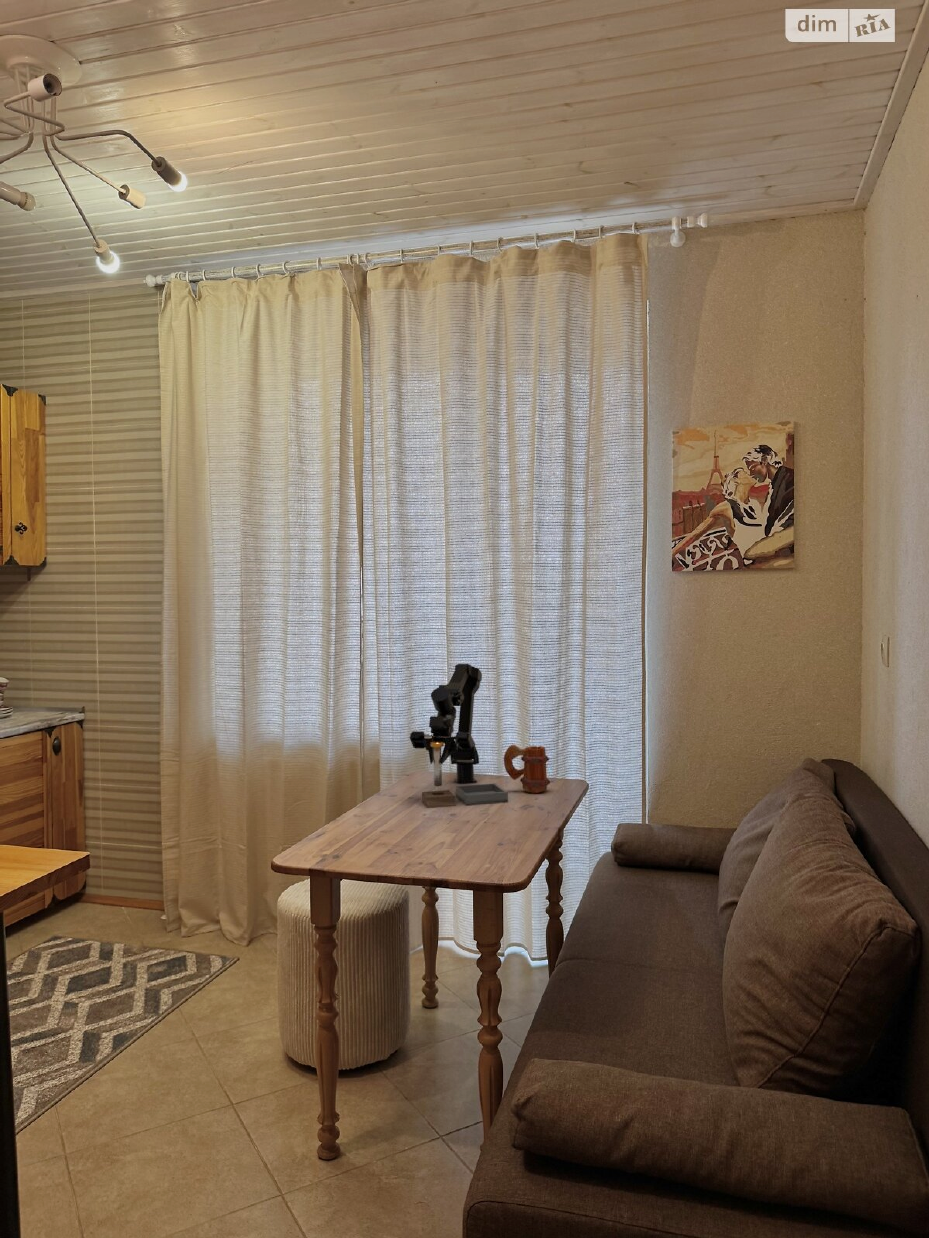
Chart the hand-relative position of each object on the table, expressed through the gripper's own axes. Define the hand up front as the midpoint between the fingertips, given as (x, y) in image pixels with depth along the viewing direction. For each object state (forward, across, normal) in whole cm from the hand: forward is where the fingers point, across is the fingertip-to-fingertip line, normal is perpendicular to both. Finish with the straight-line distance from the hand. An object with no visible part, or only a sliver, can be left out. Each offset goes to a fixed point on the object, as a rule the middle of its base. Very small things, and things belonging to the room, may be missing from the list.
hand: (436, 763), depth 275 cm
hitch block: (+8, 0, +10) cm, 13 cm away
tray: (+2, +11, +16) cm, 20 cm away
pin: (+4, 0, +6) cm, 7 cm away
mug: (-6, +24, +25) cm, 35 cm away
